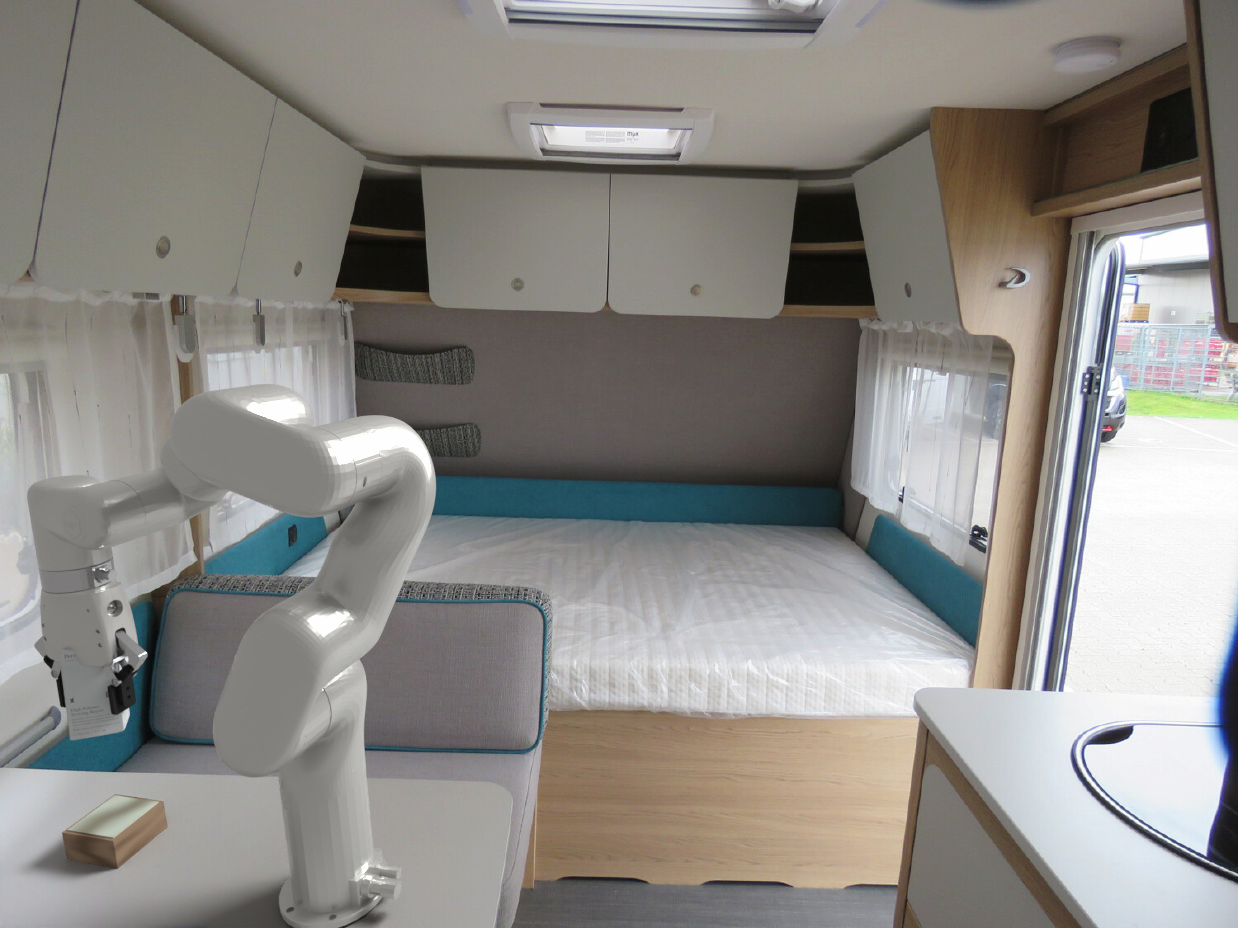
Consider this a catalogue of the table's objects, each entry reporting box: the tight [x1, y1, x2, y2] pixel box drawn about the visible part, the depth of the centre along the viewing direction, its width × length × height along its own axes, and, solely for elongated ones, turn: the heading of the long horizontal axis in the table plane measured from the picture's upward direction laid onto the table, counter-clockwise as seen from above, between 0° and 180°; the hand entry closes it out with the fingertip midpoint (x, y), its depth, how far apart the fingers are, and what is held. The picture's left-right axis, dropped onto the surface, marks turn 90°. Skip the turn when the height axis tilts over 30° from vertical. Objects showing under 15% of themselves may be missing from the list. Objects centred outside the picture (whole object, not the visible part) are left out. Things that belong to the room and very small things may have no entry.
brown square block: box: [61, 793, 168, 869], centre depth 100 cm, size 8×8×4 cm
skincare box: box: [59, 648, 131, 742], centre depth 95 cm, size 6×4×12 cm
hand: (98, 704), depth 96 cm, fingers closed on skincare box, 7 cm apart
